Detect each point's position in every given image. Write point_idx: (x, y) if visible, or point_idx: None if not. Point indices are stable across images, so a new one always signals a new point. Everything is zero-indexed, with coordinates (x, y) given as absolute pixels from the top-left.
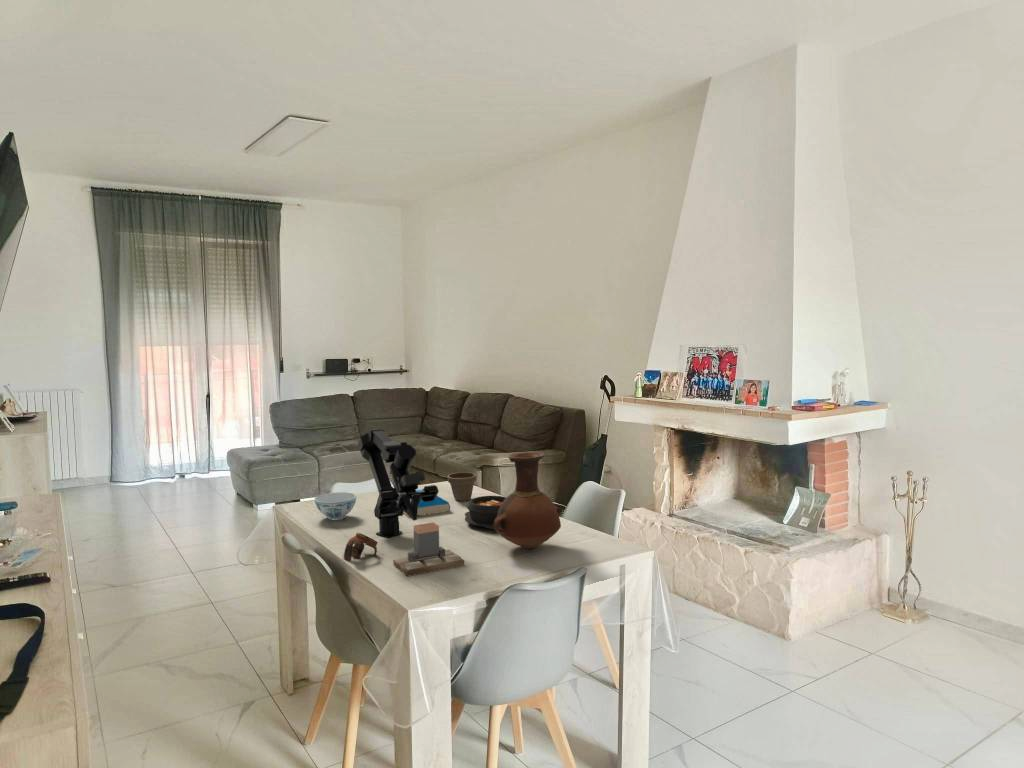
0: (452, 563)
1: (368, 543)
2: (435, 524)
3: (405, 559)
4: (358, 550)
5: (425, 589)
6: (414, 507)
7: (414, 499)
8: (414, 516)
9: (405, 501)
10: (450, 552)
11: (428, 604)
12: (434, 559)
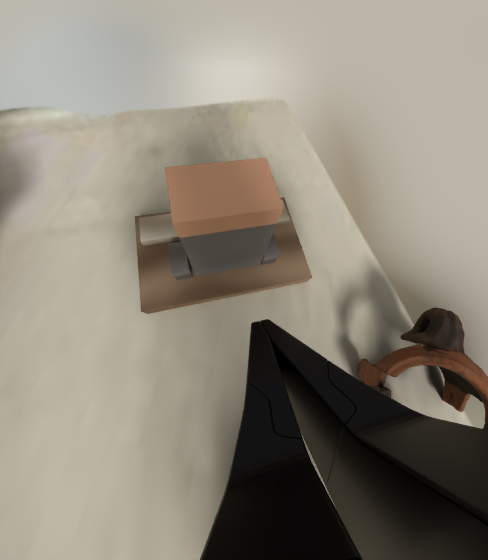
0: (170, 213)
1: (413, 351)
2: (174, 188)
3: (281, 269)
4: (427, 311)
5: (252, 144)
6: (280, 383)
7: (310, 492)
8: (270, 325)
9: (448, 427)
10: (147, 284)
11: (256, 101)
12: None
